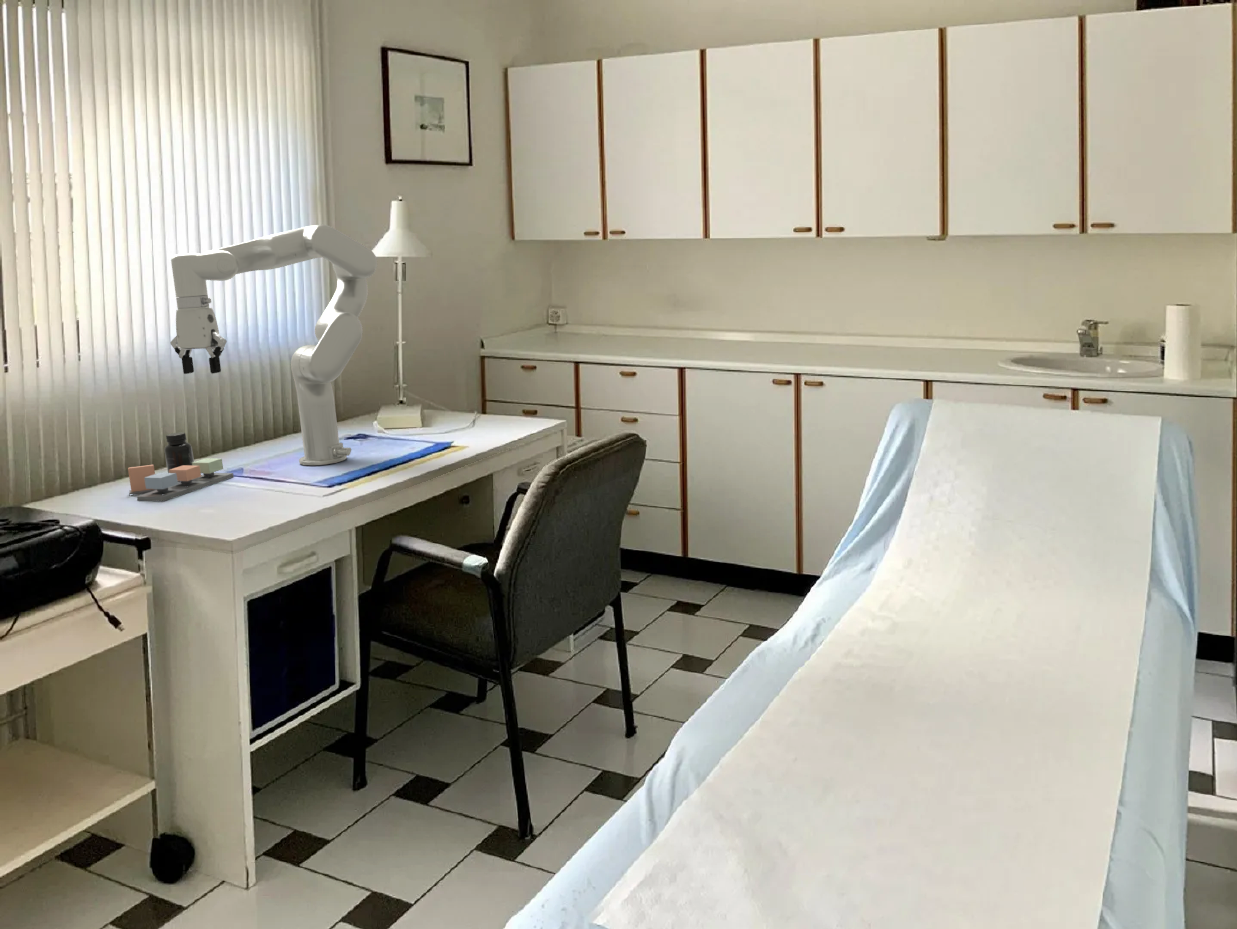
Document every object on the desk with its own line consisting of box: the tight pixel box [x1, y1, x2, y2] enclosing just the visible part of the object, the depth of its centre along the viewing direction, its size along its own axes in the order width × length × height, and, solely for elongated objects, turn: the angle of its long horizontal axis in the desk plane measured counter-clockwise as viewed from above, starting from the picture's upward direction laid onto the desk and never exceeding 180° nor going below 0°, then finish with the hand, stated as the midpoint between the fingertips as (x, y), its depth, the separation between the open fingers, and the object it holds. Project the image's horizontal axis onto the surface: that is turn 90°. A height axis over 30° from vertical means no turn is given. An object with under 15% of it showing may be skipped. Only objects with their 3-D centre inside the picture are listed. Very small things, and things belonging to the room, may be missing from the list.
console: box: [136, 472, 235, 502], centre depth 295 cm, size 8×26×1 cm, turn 159°
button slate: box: [145, 472, 179, 492], centre depth 287 cm, size 5×5×4 cm
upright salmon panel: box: [127, 464, 157, 495], centre depth 293 cm, size 4×7×7 cm, turn 112°
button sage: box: [192, 457, 224, 476], centre depth 302 cm, size 5×5×4 cm
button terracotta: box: [169, 465, 202, 484], centre depth 294 cm, size 5×5×4 cm
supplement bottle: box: [163, 431, 195, 473], centre depth 306 cm, size 7×7×12 cm
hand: (202, 372), depth 297 cm, fingers open, 7 cm apart
